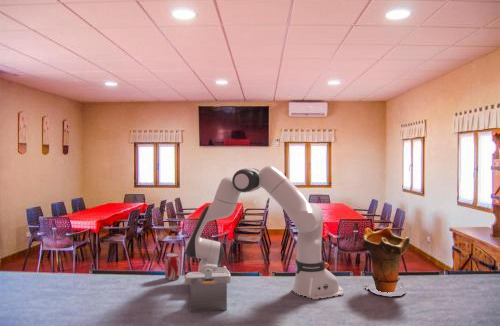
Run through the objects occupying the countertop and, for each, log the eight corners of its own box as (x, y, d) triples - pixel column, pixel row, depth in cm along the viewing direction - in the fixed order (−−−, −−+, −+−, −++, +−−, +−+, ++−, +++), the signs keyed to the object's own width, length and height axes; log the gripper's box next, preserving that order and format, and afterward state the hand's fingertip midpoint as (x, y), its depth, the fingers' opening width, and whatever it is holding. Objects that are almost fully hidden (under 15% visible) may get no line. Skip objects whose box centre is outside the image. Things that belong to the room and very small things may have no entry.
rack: (225, 303, 151) (225, 276, 151) (226, 310, 145) (226, 281, 145) (190, 305, 149) (190, 277, 149) (190, 312, 143) (190, 283, 143)
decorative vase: (382, 303, 152) (381, 235, 152) (352, 286, 174) (351, 226, 174) (424, 297, 158) (423, 232, 158) (389, 281, 180) (388, 224, 180)
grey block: (211, 294, 160) (211, 271, 159) (212, 302, 152) (212, 278, 151) (204, 294, 159) (204, 272, 159) (204, 302, 151) (204, 278, 151)
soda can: (176, 281, 177) (176, 257, 176) (162, 280, 178) (162, 256, 178) (182, 276, 184) (181, 253, 183) (168, 275, 185) (168, 252, 185)
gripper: (185, 267, 169) (183, 278, 155) (229, 266, 171) (231, 276, 158) (185, 281, 169) (183, 293, 155) (229, 279, 172) (231, 290, 158)
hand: (208, 284), depth 156 cm, fingers closed on grey block, 3 cm apart
